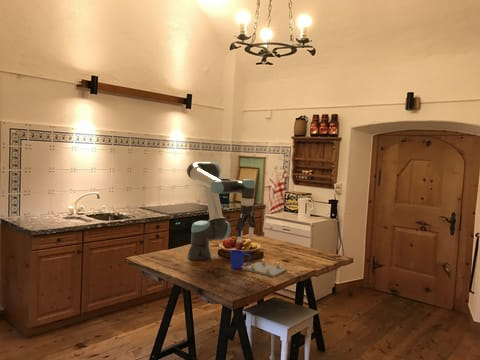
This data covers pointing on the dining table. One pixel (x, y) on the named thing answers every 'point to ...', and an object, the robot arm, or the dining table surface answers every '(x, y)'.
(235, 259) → the mug
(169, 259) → the dining table surface
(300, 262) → the dining table surface
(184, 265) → the dining table surface
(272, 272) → the tray
